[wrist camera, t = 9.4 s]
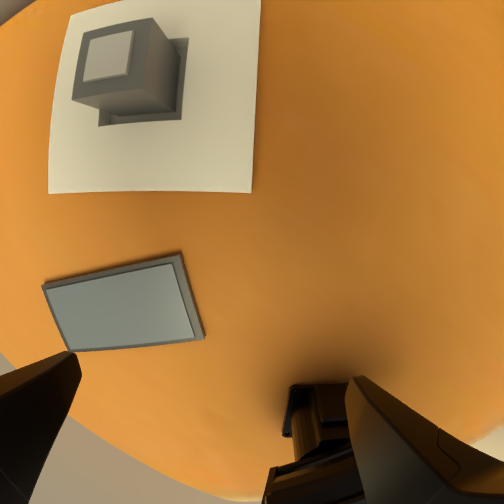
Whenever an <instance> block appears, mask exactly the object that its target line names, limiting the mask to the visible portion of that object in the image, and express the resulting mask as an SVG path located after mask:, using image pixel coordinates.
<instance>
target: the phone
mask: <svg viewBox="0 0 504 504" xmlns="http://www.w3.org/2000/svg"><path fill="white" fill-rule="evenodd" d="M41 287H42V290H43V292H44V295H45V298H46V300H47V303H48V306H49V308H50V311H51V313H52V316H53V318H54V320H55V323H56V325H57V327H58V330H59V332H60V334H61V337H62V339H63V341H64V343H65V345H66V347H67V349H68V351H69V352H87V351H102V350H115V349H127V348H137V347H147V346H156V345H165V344H174V343H181V342H189V341H196V340H203V339H205V336H206V334H205V331H204V328H203V325H202V322H201V319H200V315H199V312H198V309H197V306H196V302H195V299H194V296H193V292H192V289H191V285H190V282H189V278H188V275H187V271H186V268H185V264H184V261H183V257H182V253H179V254H174V255H169V256H165V257H160V258H155V259H151V260H146V261H141V262H137V263H132V264H128V265H123V266H118V267H114V268H109V269H105V270H100V271H96V272H91V273H87V274H83V275H78V276H74V277H69V278H65V279H61V280H56V281H52V282H47V283H45V284H43V285H41Z"/></svg>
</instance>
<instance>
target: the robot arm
mask: <svg viewBox="0 0 504 504" xmlns="http://www.w3.org/2000/svg"><path fill="white" fill-rule="evenodd" d="M81 377H82V372H81V368H80V365H79V361H78V358H77V355H76V354H75V353H73V352H69V351H63V352H61V353H58V354H56V355H53V356H51V357H48V358H45V359H43V360H40V361H38V362H35V363H33V364H30V365H27V366H25V367H22V368H20V369H17V370H14V371H12V372H9V373H6V374H4V375H1V376H0V504H28V503H29V500H30V497H31V495H32V493H33V490H34V488H35V485H36V482H37V480H38V478H39V475H40V473H41V470H42V468H43V466H44V463H45V461H46V459H47V457H48V454H49V452H50V450H51V448H52V446H53V443H54V441H55V439H56V437H57V435H58V432H59V430H60V428H61V426H62V424H63V422H64V420H65V418H66V416H67V414H68V412H69V409H70V407H71V404H72V402H73V399H74V396H75V394H76V391H77V388H78V386H79V383H80V381H81ZM295 390H297V391H296V392H293V391H295ZM282 436H283V437H287V438H288V437H292V439H293V447H294V456H295V462H293V463H289V464H286V465H283V466H280V467H278V466H276V467H272V468H270V471H269V475H268V479H267V483H266V487H265V491H264V495H263V499H262V503H261V504H504V462H503V461H500V460H498V459H496V458H493V457H491V456H489V455H487V454H485V453H483V452H481V451H479V450H477V449H475V448H473V447H471V446H469V445H467V444H466V443H464V442H462V441H460V440H458V439H457V438H455V437H453V436H452V435H450V434H449V433H447V432H445V431H444V430H442V429H441V428H438V426H436V425H435V424H433V423H432V422H430V421H429V420H427V419H426V418H424V417H423V416H421V415H420V414H418V413H417V412H416V411H414V410H413V409H411V408H410V407H408V406H407V405H405V404H404V403H402V402H401V401H399V400H398V399H397V398H395V397H394V396H392V395H391V394H389V393H388V392H387V391H385V390H384V389H382V388H381V387H379V386H378V385H377V384H375V383H374V382H372V381H371V380H370V379H368V378H367V377H365V376H352V377H351V379H350V381H349V383H345V384H323V385H293V386H291V387H290V389H289V393H288V399H287V405H286V411H285V417H284V423H283V428H282Z"/></svg>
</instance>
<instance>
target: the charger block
mask: <svg viewBox="0 0 504 504" xmlns="http://www.w3.org/2000/svg"><path fill="white" fill-rule="evenodd" d="M180 60H181V57H180V55H179V54H178V52H177V51H176V50H175V48H174V47H173V45H172V44H171V42H170V41H169V40H168V38H167V37H166V35H165V34H164V32H163V31H162V30H161V28H160V27H159V25H158V24H157V23H156V21H155V20H154V19H153V17H152V18H146V19H140V20H134V21H129V22H124V23H120V24H115V25H111V26H107V27H103V28H99V29H95V30H91V31H88V32H84V33H83V37H82V41H81V46H80V51H79V55H78V61H77V66H76V72H75V78H74V84H73V92H72V99H71V100H72V101H75V102H79V103H82V104H85V105H88V106H91V107H93V108H96V109H99V110H102V111H105V112H108V113H111V114H113V115H116V116H119V117H122V116H132V115H142V114H155V113H171V112H176V102H177V90H178V79H179V69H180Z"/></svg>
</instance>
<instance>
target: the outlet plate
mask: <svg viewBox="0 0 504 504" xmlns="http://www.w3.org/2000/svg"><path fill="white" fill-rule="evenodd" d="M260 14H261V0H122V1H118V2H114V3H110V4H106V5H103V6H99V7H96V8H92V9H89V10H86V11H83V12H80V13H77V14H74V15H71V18H70V21H69V25H68V28H67V32H66V36H65V40H64V44H63V49H62V53H61V58H60V63H59V68H58V73H57V79H56V85H55V92H54V99H53V107H52V116H51V127H50V140H49V163H48V194H58V193H79V192H108V191H204V192H236V193H251V192H252V173H253V152H254V132H255V112H256V91H257V72H258V52H259V33H260ZM152 17H153V19H154V20H155V21H156V23H157V24H158V25H159V27H160V28H161V30H162V31H163V32H164V34H165V35H166V37H167V38H168V40H169V41H170V42H171V44H172V45H173V47H174V48H175V50H176V51H177V52H178V54H179V55H180V57H181V60H180V69H179V79H178V90H177V102H176V112H171V113H155V114H142V115H132V116H122V117H119V116H116V115H113V114H111V113H108V112H105V111H102V110H99V109H96V108H93V107H91V106H88V105H85V104H82V103H79V102H75V101H72V100H71V99H72V92H73V84H74V78H75V72H76V66H77V61H78V55H79V51H80V46H81V41H82V37H83V33H84V32H88V31H91V30H95V29H99V28H103V27H107V26H111V25H115V24H120V23H124V22H129V21H134V20H140V19H146V18H152Z"/></svg>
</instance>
